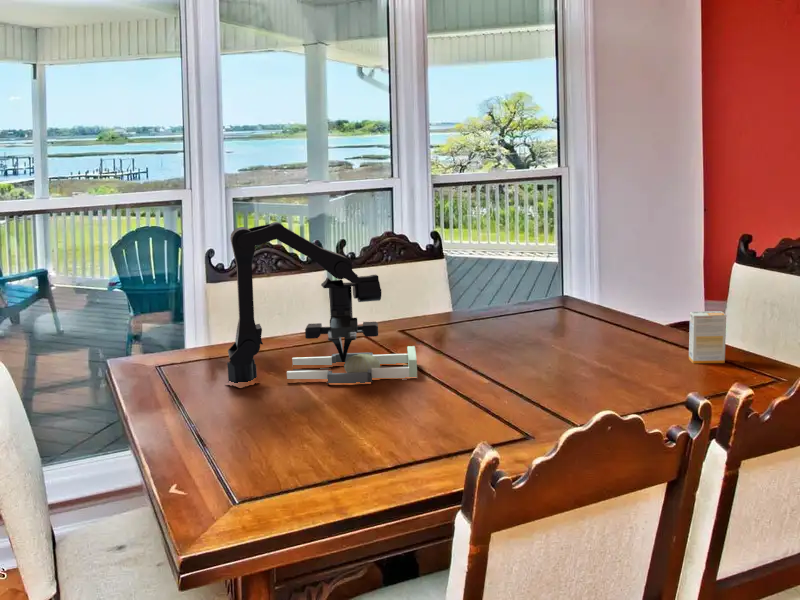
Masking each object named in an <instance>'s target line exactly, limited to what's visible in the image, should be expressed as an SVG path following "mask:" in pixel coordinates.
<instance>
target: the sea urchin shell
mask: <svg viewBox="0 0 800 600" xmlns="http://www.w3.org/2000/svg"><path fill="white" fill-rule="evenodd" d="M343 368H344V371H345V373H354V372H367V371H368V369H372V368H381V366H380V363H379V361H378V359H377V358H376V357H375V356H372V355H369V354H359V355H354V356H352V357H350V358H349V359H347V360H346V362H345V364H344V367H343Z"/></svg>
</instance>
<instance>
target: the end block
mask: <svg viewBox="0 0 800 600" xmlns="http://www.w3.org/2000/svg"><path fill="white" fill-rule="evenodd" d="M406 348H407V349H406V350H407V354H408V365H407V367H409V377H417V378H418V364H417V363H418V360H417V352H416V346H415V345H412V346H411V345H410V346H409V345H408V346H407V347H406Z"/></svg>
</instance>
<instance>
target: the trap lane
mask: <svg viewBox="0 0 800 600" xmlns="http://www.w3.org/2000/svg"><path fill="white" fill-rule="evenodd" d="M359 354H369V355H372V356H375V357H376V358H377V359H378V361H379V363H380V364H396V363H408V353H390V354H389V353H388V354H386V353H385V354H373V352H372V351H371V352H370V351H369V352H347V355H346V359H345V362H346V360H347V359H349V358H350V357H352V356H354V355H359ZM291 359H292V366H293V365H332V363H336V362H342V361H341V358H340V355H339V353H332V354H331V356H329V355H328V356H306V357H292V358H291ZM405 377H409V367H408V366H388V367H380V368H372V369H368V371H367V372H354V373H347V372H333V370H329V369H305V370H287V371H286V380H287V379H328V382H327V384H328V383H356V382H360V383H365V382H372V383H373V381H372V378H405Z"/></svg>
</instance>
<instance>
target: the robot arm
mask: <svg viewBox="0 0 800 600" xmlns="http://www.w3.org/2000/svg"><path fill="white" fill-rule="evenodd" d="M275 240H278V241H279V242H281V243H283V244H284V245H286V246H288V247H290V248H291V249H294V250H295V251H297V252H298V253H301V254H302V255H304V256H305V257H307V258H309V259H311V260H313V261H314V262H316V263H317V264H318V265H319V266H320V267H322V268H323V269H324V270H326V272H328V273H329V274H330V275H331V276H333V277H334V278H335V280H334V279H333V280H331V278H329V277H326V279H325V280H324V281H323V282H322V283H321V285H320V286H321V287H322V288H323V289H329V290H328V291H329V292H328V293H329V312H330V313H329V315H330V316H329V317H330V319H329V326H322V323H321V322H319V323H308V324H307V325H306V327H305V330H304V331H305V333H304V334H305V335H304V336H305V339H307V340H308V339H319V337H321V336H322V335H327V336H328V338H327V340H328V342H329V341H330V342H332V343H333V345H334V346H335V348H336V349H337V354H339V355H340V358H341V361H342V362H345V359H346V355H347V353H349V348H350V346H351V344H352V342H353V341H357V334H360V333H361V334H362V335H363V336H365V337H366V338H370V337H371V338H372V337H378V336H379V323H378V322H377V321H363V322H362V325H358V317H353V315H354V314H353V299H354V300H356V299H357V301H358V303H364V302H379V301H380V302H381V299H382V288H381V283H380V279H379V275H378V274H369V275H364V276H359V275H358V274H356V273H355V271H354V270H353V265H352V262H351V260H349V259H348V258H347V257H346V256H344V255H342V254H340V253H337V252H335V251H332V250H328V249H326V248H324V247H320V246H318V245H317V244H315V243H314V242H312V241H310V240H308V239H306V238H304V237H302V236H301V235H299V234H297V233H296V232H295V231H292V230H291V229H289V228H287V227H286V226H284V225H283V224H282V223H280V222H278V221H273V222H270V223H267V224H264V225H258V226H254V227H249V228H248V227H246V226H238V227H237V228H235V229H234V230H232V231H231V233H230V242H231V243H230V244H231V247H232V253H233V256H234V260H235V263H236V264H235V265H236V280H237V281H236V282H237V303H238V306H237V307H238V321H237V326H236V333H235V340H234V341H235V342H234V343H233V344H232V345H231V346H230V348H229V349H228V350H227V353H228V357H229V361H227V363H226V364H227V366H226V367H227V376H228V377H227V379H228V380H227V381H228V382H229V381H231V382H234V383H238V382H248V381H251V380H253V379H254V378H256V377H257V378H258V374H257V373H258V371H257V364H256V361H255V358H254V356H256V355H258V354H259V352H260V350H261V345H264V343H263V341H262V333H263V328H262V325H261V324H260V323H256V321H255V311H254V310H255V307H254V288H253V287H254V286H253V285H254V284H253V283H254V282H253V261H254V258H255V257H254V256H255V252H256V251H255V249H256V246H260V245H263V244H266V243H269V242H271V241H275ZM343 280H347V281H349V282H344V281H343ZM342 338H344V342H343V341H342Z"/></svg>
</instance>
